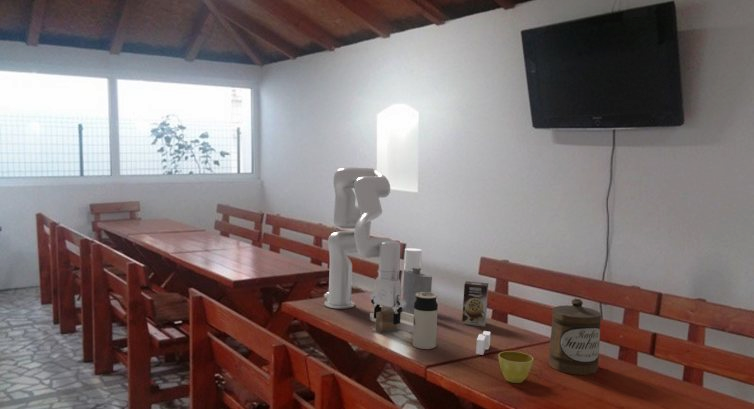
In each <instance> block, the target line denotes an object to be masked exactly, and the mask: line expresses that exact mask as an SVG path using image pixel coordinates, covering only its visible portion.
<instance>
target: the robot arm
mask: <svg viewBox="0 0 754 409" xmlns="http://www.w3.org/2000/svg"><path fill="white" fill-rule="evenodd" d="M333 188H334V195H335V196H334V198H335V199H334V208H333V224H334V226H335V228H337V229H342V230H344V231H341V230H339V231H335V232H332V233H331V234H330V235H329V236H328V240H327V244H328V254H329V273H328V274H329V276H328V291H327V292H326V293H324V294H323V297H324V298H326V300H325V301H324V306H325V307H327V308H329V309H339V310H340V309H341V310H343V309H344V310H345V309H350V308H354V307H355V302H354V301H353V300H352V283H353V282H352V280H353V279H352V277H353V276H352V275H353V264H352V261H351V259H350V258H349V256H348V255H350V254H353V255H354V254H358V255H359V256H360V257H361V258H363V259H378V269H377V270H376V272H377V274H378V276H377V277H376V279H375V284H374V289H373V292H372V293H370V294H369V297H370V298H369V299H370V302H371V304H372V307H373V313H374V318H375V319H376V313H377V312H381V306H385V307H388V308H393V310H394V312H395V313H394V314H393V324H399V323H400V316H401V313H402V311H403V310H404V309H405V306H406V304H407V303H406V302H405V301H404V300H403V297H402V286H401V280H400V261H401V243H400V242H399V241H396V240H393V239H392V238H390V237H370V236H371V235H370V234H371V224H372V221H374V220H376V219H377V218H379V217H380V216H381V215H382V214H383V209H382V205H381V201H380V198H382V199H383V198H387V197H388V196H389V195H390V193H391V185H390V182H389V180H388V179H387V177H386V176H385V175H384V174H383V173H381V172H380V171H378V170H377V169H375V168H369V167H341V168H338V169H336V171H335V172H334V174H333ZM356 202H357V205H356ZM346 229H347V230H348V229H349V230H348V231H347V230H346ZM352 229H354V230H352ZM345 230H346V231H345Z"/></svg>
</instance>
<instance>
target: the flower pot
mask: <svg viewBox="0 0 754 409" xmlns="http://www.w3.org/2000/svg"><path fill="white" fill-rule="evenodd" d="M533 362H534V357H533V356H532V355H530V354H528V353H525V352H521V351H512V350H506V351H501V352H499V353H498V363H499V367H500V370H501V372H502V375H503V377H504V379H505V381H507V382H509V383H513V384H521V383H523V382H524V380H526V378H527V376H528V375H529V373H530V372H531V369H532V367H533V366H532V365H533V364H534V363H533Z"/></svg>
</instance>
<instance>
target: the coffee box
mask: <svg viewBox="0 0 754 409" xmlns="http://www.w3.org/2000/svg"><path fill="white" fill-rule="evenodd" d="M463 287H464V288H463V301H462V302H463V304H462V315H461V316H462V318H461V324H463V325H468V326H478V327H486V323H487V310H488V309H487V306H488V305H487V304H488V293H489V291H488V290H489V283H488V282H479V281H470V280H469V281H467V280H466V281H465V282H464V285H463Z"/></svg>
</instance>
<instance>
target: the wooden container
mask: <svg viewBox="0 0 754 409" xmlns="http://www.w3.org/2000/svg"><path fill="white" fill-rule="evenodd" d="M583 302H584V301H583V300H581V298H573V299H572V300H571V305H567V304H566V305H557V306H555V307H553V308H552V314H551V316H552V321H551V329H550V330H551V332H550V342H549V353H548V354H549V355H548V356H549V358H548V364H549V366H550V368H553V369H554V370H556V371H558V372H562V373H565V374H570V375H578V376H580V375H582V376H583V375H585V376H586V375H592V374H595V373H597V371H598V366H599V355H600V354H599V353H600V339H601V338H600V337H601V320H602V314H601V312H600V311H598V310H596V309H594V308H591V307H590V308H589V307H586V306H583V304H584V303H583Z"/></svg>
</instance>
